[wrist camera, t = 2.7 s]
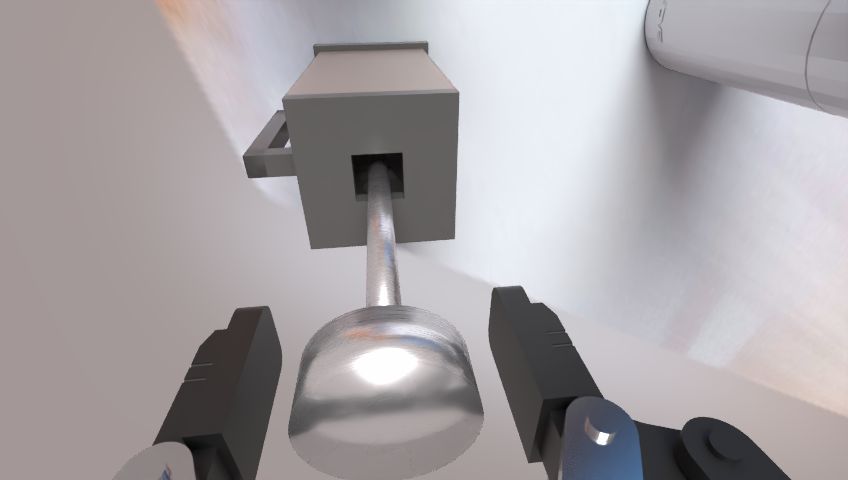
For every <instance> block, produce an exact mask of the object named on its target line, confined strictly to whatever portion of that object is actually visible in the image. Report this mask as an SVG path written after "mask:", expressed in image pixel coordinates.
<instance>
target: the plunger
mask: <svg viewBox="0 0 848 480" xmlns="http://www.w3.org/2000/svg"><path fill="white" fill-rule="evenodd" d="M352 158H353V167H354V175H355V184H356V193H357V195H359V194H368V228H367V295H366V296H367V297H366V308H362V309H358V310H354V311H352V312H349V313H346V314H344V315H342V316H339V317H337V318H335V319H334V320H332V321H330V322H329V323H327V324H326V325H325V326H323V327H322V328H321V329H319V330H318V331H317V332H316V333H315V334H314V336H313V337H312V338H311V339H310V340H309V342H308V344H307V345H306V347H305V349H304V351H303V354H302V358H301V362H300V368H299V372H298V378H297V383H296V389H295V394H294V399H293V405H292V410H291V415H290V421H289V428H288V434H289V438H290V442H291V444H292V447H293V448H294V450H295V451H296V453H297V454H298V455H299V456H300V457H301V458H302V459H303V460H304V461H305V462H306V463H308V464H309V465H310V466H312V467H313V468H315V469H317V470H319V471H321V472H323V473H326V474H328V475H331V476H334V477H338V478H342V479H347V480H403V479H408V478H412V477H417V476H420V475H423V474H426V473H429V472H432V471H434V470H437V469H439V468H441V467H443V466H445V465H447V464H448V463H450V462H452V461H453V460H455V459H456V458H458V457H459V456H460V455H462V454H463V453H464V452H465V451H466V450H467V449H468V448H469V447H470V446H471V445H472V444H473V443H474V441H475V440H476V438H477V436H478V435H479V433H480V431H481V428H482V424H483V420H484V417H483V416H484V415H483V414H484V412H483V407H482V403H481V399H480V395H479V391H478V388H477V384H476V381H475V377H474V373H473V369H472V365H471V362H470V358H469V354H468V350H467V346H466V344H465V342H464V339H463V338H462V336H461V335H460V333H459V332H458V331H457V330H456V328H455V327H454V326H453V325H451V324H450V323H449V322H448V321H446V320H445V319H443V318H441V317H440V316H438V315H436V314H433V313H431V312H429V311H426V310H423V309H419V308H415V307H409V306H401V298H400V286H399V276H398V266H397V255H396V244H395V233H394V223H393V212H392V202H391V193H392V192H404V191H403V168H402V153H383V154H363V155H352Z"/></svg>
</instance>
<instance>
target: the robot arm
mask: <svg viewBox="0 0 848 480" xmlns="http://www.w3.org/2000/svg"><path fill="white" fill-rule="evenodd" d="M645 37H646V41H647V45H648V48H649V50H650V52H651V54H652V56H653V58H654V59H655V60H656V61H657V62H658V63H659V64H660V65H662V66H664V67H666V68H668V69H671V70H674V71H678V72H681V73H685V74H689V75H692V76H696V77H699V78H702V79H706V80H709V81H713V82H717V83H720V84H724V85H727V86H731V87H735V88H738V89H742V90H745V91H749V92H753V93H756V94H760V95H764V96H767V97H771V98H774V99H778V100H782V101H785V102H789V103H793V104H796V105H800V106H803V107H807V108H811V109H814V110H818V111H822V112H825V113H829V114H832V115H837V116H841V117H845V118H848V0H650V3H649V6H648V9H647V15H646V21H645ZM488 330H489V342H490V347H491V351H492V354H493V357H494V360H495V363H496V366H497V369H498V372H499V375H500V378H501V381H502V384H503V387H504V390H505V393H506V396H507V399H508V402H509V405H510V409H511V411H512V415H513V417H514V421H515V424H516V427H517V430H518V432H519V436H520V439H521V442H522V445H523V448H524V451H525V454H526V457H527V460H528V463H533V462H543V464H544V467H545V470H546V472H547V475H548V478H547V480H791V479H790V478H789V477H788V476H787V475H786V474H785V473H784V472H783V471H782V470H781V469H780V468H779V467H778V466H777V465H776V464H775V463H774V462H773V461H772V460H771V459H770V458H769V457H768V456H767V455H766V454H765V453H764V452H763V451H762V450H761V449H760V448H759V447H758V446H757V445H756V444H755V443H754V442H753V441H752V440H751V439H750V438H749V437H748V436H747V435H745V434H744V433H743V432H741V431H740V430H738V429H737V428H735V427H734V426H732V425H730V424H728V423H726V422H723V421H721V420H718V419H714V418H709V417H697V418H693V419H691V420H689V421H688V422H687V423H686V424H685V425H684V427H683V429H682V430H676V429H670V428H665V427H661V426H655V425H650V424H645V423H641V422H638V421H635V420H632V419H631V417H630V416H629V415H628V414H627V413H626V412H625V411H624V410H623V409H622V408H621V407H619V406H618V405H616V404H615V403H613V402H611V401H609V400H606V399H604V397H603V395H602V394H601V392H600V391H599V389H598V387H597V385H596V384H595V382H594V380H593V378H592V376H591V375H590V373H589V371H588V369H587V368H586V366H585V364H584V363H583V361H582V359H581V357H580V355H579V354H578V352H577V350H576V348H575V346H573V345H572V341H571V340H570V338H569V336H568V334H567V333H565V329H564V327H563V326H562V324H561V322H560V320H559V318H558V316H557V315H556V314H555V313H554V312H553V311H551V310H550V309H549V308H548V307H547V306H545V305H544V304H543V303H530V301H529V299H528V297H527V295H526V293H525V291H524V289H523V287H522V286H509V287H497V288H493V291H492V299H491V308H490V318H489V329H488ZM191 365H192V367H191V368H189V370H188V372H187V374H186V376H185V379H184V380H185V381H184V383H182V385H181V387H180V389H179V391H178V393H177V395H176V397H175V399H174V402H173V404H172V406H171V408H170V410H169V412H168V414H167V416H166V418H165V420H164V422H163V425H162V427H161V429H160V431H159V433H158V435H157V437H156V439H155V441H154V443H153V445H152V446H151V447H149V448H147V449H145V450H143V451H141V452H140V453H138V454H137V455H135V456H134V457H133V458H131V459H130V460H129V461H128V462H127V463H126V464H125V465H124V466H123V467H122V468H121V469H120V470H119V471H118V473H117V474H116V475H115V477H114V478H113V480H255V478H256V474H257V470H258V466H259V461H260V457H261V453H262V449H263V444H264V440H265V436H266V432H267V427H268V423H269V419H270V415H271V410H272V406H273V402H274V397H275V393H276V389H277V385H278V381H279V376H280V372H281V367H282V350H281V346H280V342H279V338H278V335H277V331H276V328H275V325H274V321H273V318H272V314H271V311H270V308H269V307H268V306H259V307H247V308H237V309H236V310H235V312H234V314H233V316H232V318H231V321H230V323H229V325H228V328H227V329H224V330H215V331H214V333H212V334H211V336H209V337H208V338H207V339H206V340H205V342H204V343H203V344H202V345H201V346H200V347H199V349H198V351H197V353H196V355H195V357H194V360H193V362H192V364H191Z"/></svg>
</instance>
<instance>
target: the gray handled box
mask: <svg viewBox="0 0 848 480" xmlns="http://www.w3.org/2000/svg"><path fill="white" fill-rule="evenodd" d="M313 48H314V55H315V58H314V60H313V61H312V62H311V63H310V65H309V66H308V67H307V68H306V70H305V71H304V72H303V74H302V75H301V76H300V77H299V79H298V80H297V81H296V82H295V84H294V85H293V86H292V87H291V89H290V90H289V91H288V92H287V94H286V95H285V96H284V97H283V99H282V102H283V108H284V110H277V112H276V113H275V114H274V116H273V117H272V118H271V119H270V121H269V122H268V123H267V125H266V126H265V127H264V129H263V130H262V131H261V133H260V134H259V135H258V137H257V138H256V139H255V141H254V142H253V143H252V144H251V146H250V147H249V148H248V150H247V151H246V152H245V154H244V155H243V160H244V164H245V168H246V171H247V175H248V178H262V177H280V176H297V179H298V184H299V189H300V194H301V200H302V205H303V210H304V215H305V220H306V225H307V230H308V235H309V240H310V245H311V249H322V248H336V247H349V246H363V245H367V228H368V194H359V195H357V193H356V184H355V175H354V167H353V158H352V155H363V154H383V153H402V168H403V191H404V192H392V193H391V202H392V212H393V223H394V233H395V243H407V242H421V241H435V240H449V239H455V211H456V180H457V148H458V117H459V92H458V90H457V89H456V88H455V87H454V86H453V84H452V83H451V82H450V81H449V80H448V78H447V77H446V76H445V75H444V74H443V72H442V71H441V70H440V69H439V68H438V66H437V65H436V64H435V63H434V62H433V60H432V59H431V58H430V57H429V56H428V42H427V41H419V42H383V43H347V44H315V45H314V46H313ZM289 138H290V143H291V147H290V148H284V147H285V145H286V143H287V141H288V139H289Z"/></svg>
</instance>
